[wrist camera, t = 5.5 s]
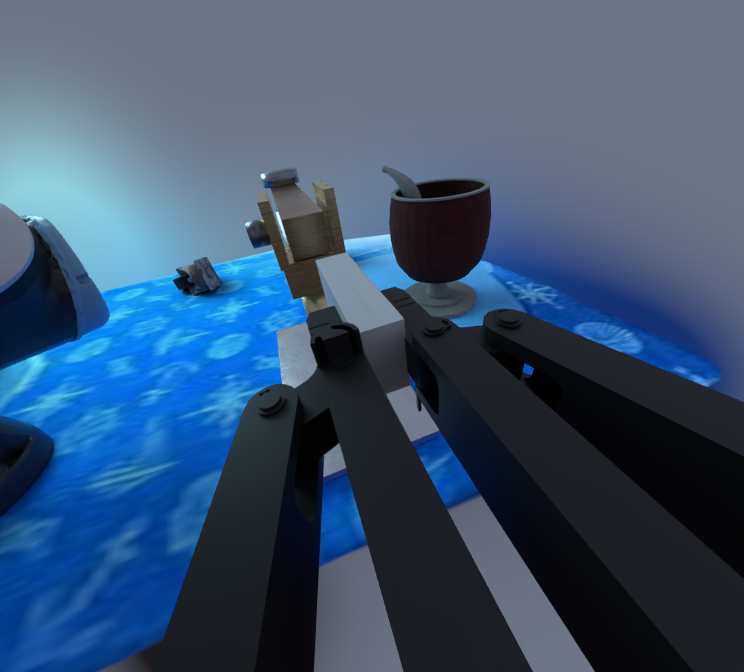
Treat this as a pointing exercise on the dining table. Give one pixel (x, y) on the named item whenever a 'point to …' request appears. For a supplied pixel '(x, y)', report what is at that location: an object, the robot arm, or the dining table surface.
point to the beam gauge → (296, 356)
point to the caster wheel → (197, 277)
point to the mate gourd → (439, 238)
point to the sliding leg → (298, 272)
